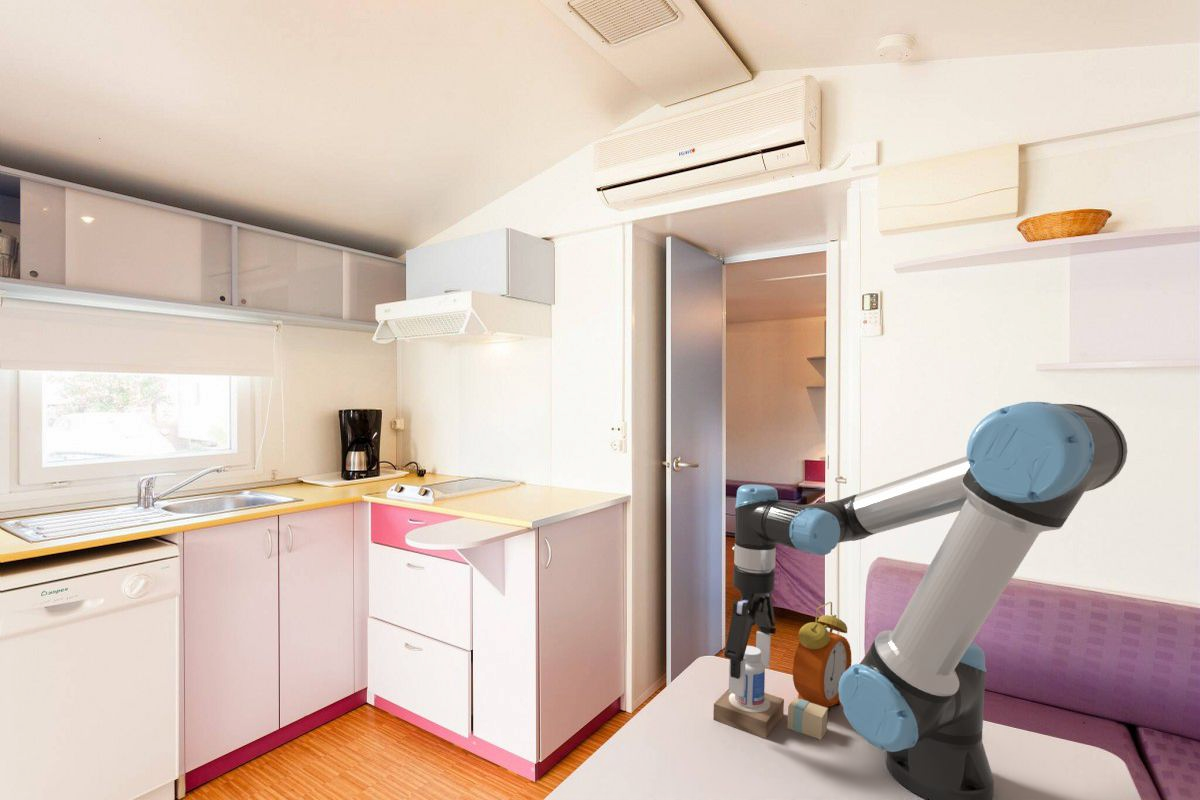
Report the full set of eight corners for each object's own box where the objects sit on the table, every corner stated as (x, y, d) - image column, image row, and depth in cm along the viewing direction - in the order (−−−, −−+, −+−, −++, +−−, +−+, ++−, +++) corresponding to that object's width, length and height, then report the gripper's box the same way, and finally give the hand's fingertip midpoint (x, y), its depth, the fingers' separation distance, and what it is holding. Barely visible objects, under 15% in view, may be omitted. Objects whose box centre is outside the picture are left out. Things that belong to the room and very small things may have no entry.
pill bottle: (762, 695, 114) (764, 645, 114) (765, 710, 108) (767, 658, 108) (733, 692, 115) (735, 642, 115) (734, 706, 110) (736, 654, 109)
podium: (783, 714, 113) (784, 698, 113) (765, 738, 105) (766, 721, 105) (733, 697, 119) (734, 682, 119) (713, 719, 111) (713, 703, 111)
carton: (826, 729, 109) (827, 707, 109) (821, 740, 105) (821, 717, 105) (794, 718, 112) (794, 696, 112) (787, 728, 109) (788, 706, 109)
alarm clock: (820, 724, 110) (824, 618, 110) (790, 711, 114) (793, 608, 114) (851, 700, 119) (855, 602, 119) (822, 688, 124) (825, 593, 123)
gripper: (757, 550, 124) (754, 650, 124) (707, 579, 103) (703, 699, 104) (794, 557, 119) (790, 661, 120) (749, 588, 99) (744, 714, 99)
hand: (750, 679), depth 112 cm, fingers open, 13 cm apart
